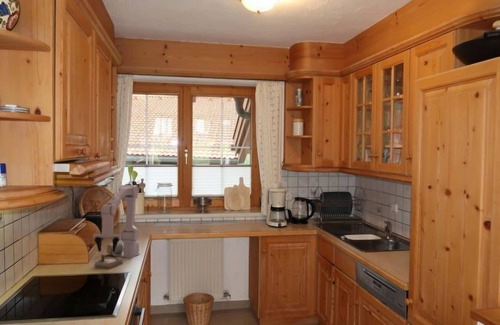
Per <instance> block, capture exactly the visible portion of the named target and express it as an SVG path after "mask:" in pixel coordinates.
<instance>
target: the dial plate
mask: <svg viewBox="0 0 500 325" xmlns="http://www.w3.org/2000/svg"><path fill="white" fill-rule="evenodd" d="M105 259H115V260H116V261H114V262H112V263H103V262H101V259H98V260H96V261H94V267H95V268H103V269H108V270H111V269H113V268H116V267H118V266H121V265H123V261H122V258H120V257H110V256H107V257H104V260H105Z"/></svg>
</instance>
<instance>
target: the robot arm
mask: <svg viewBox="0 0 500 325" xmlns="http://www.w3.org/2000/svg"><path fill="white" fill-rule="evenodd" d="M138 195H139V189H138V186H137V185H135V184H134V185H131V184H130V185H128V184H125V185H124V184H121V185H120V186H119V187H118V192H117V194H116V195H115V196H113V197H111V198H110V199H109V201H108V202H107V203H106V204H103V205H102V206H101V207H100V214H101V215H100V216H101V219H102V222H101V225H102V226H101V233H94V234H93V236H92V237H93V239H94V242H95V244H96V246H97V252H99V253H100V252H102V240H103V239H111V240H112V241H111V242H112V243H113V252H115V249H116V246H117V243H118V242H119V241H120V240H121V241H122V242H121V243H122V245H123V253H122V255H121V256H120V257H119V258H128V259H131V258H132V259H133V258H134V257H136V256H139V255H141V253H140V244H139V241H138V240H139V235H140V234H139V228H138V227H136V226H135V211H136V199H138ZM123 199H125V200H126V208H125V209H126V212H125V213H126V214H125V226H123V227H122V228H121V231H120V234H118V233H116V234H115V233H114V220H115V219H114V217H115V216H114V215H115V214H116V212H117V208H118V207H119V206H120V205H121V201H122V200H123Z"/></svg>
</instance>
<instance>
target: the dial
mask: <svg viewBox="0 0 500 325" xmlns="http://www.w3.org/2000/svg"><path fill="white" fill-rule="evenodd" d="M104 258H105V254H101V259H100V260H101V262H103V263H112V262H114V261H116V260H115V259H105V260H104Z"/></svg>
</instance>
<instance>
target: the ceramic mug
mask: <svg viewBox="0 0 500 325" xmlns="http://www.w3.org/2000/svg"><path fill="white" fill-rule="evenodd" d="M106 253H107V255H108V256H114V258H121V257H120V256H121V255H123V242H121V241H120V240H119V241H118V243H117V246H116V249H115V252H113V242H112V243H109V244H107V245H106Z"/></svg>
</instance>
